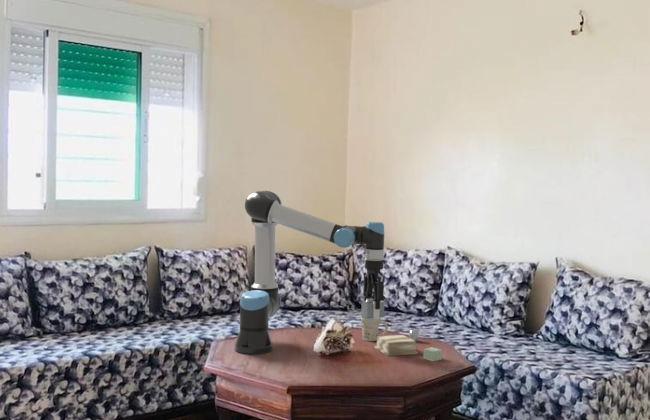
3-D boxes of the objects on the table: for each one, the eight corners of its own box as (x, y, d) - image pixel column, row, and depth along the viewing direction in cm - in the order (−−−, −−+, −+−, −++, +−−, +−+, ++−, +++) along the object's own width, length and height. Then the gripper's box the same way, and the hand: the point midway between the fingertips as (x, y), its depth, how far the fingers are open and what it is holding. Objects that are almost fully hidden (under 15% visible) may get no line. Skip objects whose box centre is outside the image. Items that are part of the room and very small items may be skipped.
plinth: (374, 347, 280) (374, 335, 279) (403, 345, 284) (403, 334, 284) (387, 355, 267) (388, 343, 266) (417, 353, 271) (418, 341, 271)
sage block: (423, 358, 265) (423, 348, 264) (431, 356, 268) (432, 347, 268) (432, 361, 261) (433, 351, 261) (441, 359, 264) (441, 349, 264)
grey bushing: (407, 340, 294) (407, 329, 294) (415, 340, 295) (416, 329, 295) (411, 342, 290) (412, 331, 290) (419, 342, 291) (420, 331, 291)
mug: (357, 337, 296) (358, 315, 296) (383, 336, 300) (384, 314, 299) (364, 342, 288) (364, 319, 288) (390, 341, 292) (391, 318, 291)
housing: (361, 315, 274) (361, 299, 273) (378, 314, 277) (378, 298, 277) (367, 318, 269) (367, 301, 269) (384, 316, 272) (384, 300, 272)
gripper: (355, 257, 278) (354, 311, 279) (377, 262, 262) (375, 320, 263) (371, 256, 282) (369, 310, 283) (393, 261, 266) (391, 319, 267)
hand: (372, 315), depth 273 cm, fingers closed on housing, 5 cm apart
